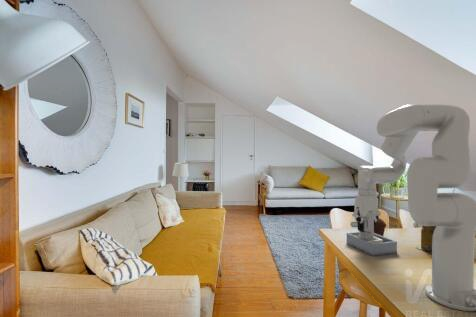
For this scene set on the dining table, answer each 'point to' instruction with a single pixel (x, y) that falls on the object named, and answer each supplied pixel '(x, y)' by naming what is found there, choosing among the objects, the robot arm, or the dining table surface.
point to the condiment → (427, 238)
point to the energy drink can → (368, 227)
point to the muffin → (380, 227)
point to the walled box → (372, 244)
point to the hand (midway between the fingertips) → (366, 230)
